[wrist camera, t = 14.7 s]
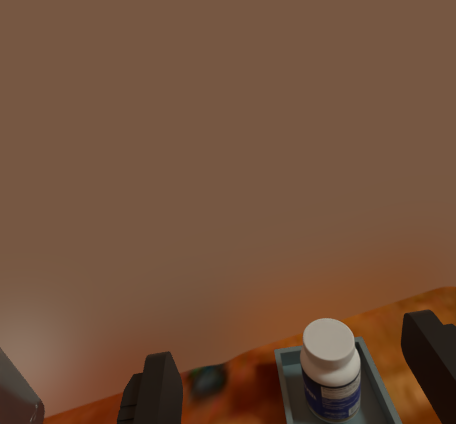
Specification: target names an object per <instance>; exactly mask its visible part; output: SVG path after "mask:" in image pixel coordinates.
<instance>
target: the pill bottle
mask: <svg viewBox="0 0 456 424" xmlns="http://www.w3.org/2000/svg"><path fill="white" fill-rule="evenodd" d="M300 362H301V369H302V376H303V384H304V391H305V398H306V402H307V404H308V406H309V408H310V410H311V411H312V412H313V413H314V414H315V415H316V416H317V417H318V418H320V419H321V420H323V421H326V422H328V423H333V424H340V423H345V422H347V421H349V420H351V419H352V418H353V417H354V416H355V415H356V414H357V412H358V410H359V407H360V400H361V387H360V369H361V368H360V367H361V364H360V357H359V354H358V351H357V349H356V348H355V341H354V336H353V334H352V332H351V330H350V329H349V328H348V327H347V326H346V325H345V324H343V323H342V322H340V321H337V320H334V319H327V318H326V319H325V318H324V319H318V320H315V321H313V322H312V323H310V324H309V325H308V326H307V327H306V329H305V331H304V333H303V346H302V349H301V352H300Z"/></svg>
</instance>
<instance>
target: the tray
mask: <svg viewBox="0 0 456 424" xmlns="http://www.w3.org/2000/svg"><path fill="white" fill-rule="evenodd" d="M354 341H355V348H356V349H357V351H358V354H359V357H360V364H361V367H360V368H361V369H360V387H361V400H360V407H359V410H358V412H357V414H356V415H355V416H354V417H353V418H352V419H351V420H349V421H347V422H345V423H340V424H402V422H401V420H400V418H399V415H398V413H397V411H396V409H395V407H394V405H393V403H392V400H391V398H390V396H389V394H388V392H387V390H386V388H385V385H384V383H383V381H382V379H381V377H380V375H379V373H378V370H377V368H376V366H375V364H374V362H373V360H372V357H371V355H370V353H369V351H368V349H367V347H366V345H365V342H364V340H363V338H362V337H356V338H354ZM301 349H302V346H296V347H289V348H283V349H276V350H274V351H275V357H276V363H277V368H278V374H279V380H280V385H281V391H282V397H283V403H284V408H285V414H286V420H287V424H333V423H328V422H326V421H323V420H321V419H320V418H318V417H317V416H316V415H315V414H314V413H313V412H312V411H311V410H310V408H309V406H308V404H307V402H306V398H305V391H304V384H303V376H302V369H301V362H300V352H301Z"/></svg>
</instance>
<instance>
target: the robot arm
mask: <svg viewBox="0 0 456 424" xmlns="http://www.w3.org/2000/svg"><path fill="white" fill-rule="evenodd" d="M401 348H402V352H403V355H404V358H405V360H406V362H407V364H408V366H409V367H410V369H411V371H412V373H413V374H414V376H415V378H416V379H417V381H418V383H419V385H420V386H421V388H422V390H423V392H424V393H425V395H426V397H427V398H428V400H429V402H430V404H431V405H432V407H433V409H434V410H435V412H436V414H437V416H438V417H439V419H440V421H441V423H442V424H456V326H455V325H453V324H447V325H443V324H442V323H441V322H440V320H439V319H438V318H437V316H436V315H435V314H434V313H433V312H432V311H431V310H423V311H417V312H410V313H405V314H404V318H403V327H402V337H401ZM182 401H183V387H182V380H181V377H180V374H179V372H178V370H177V367H176V365H175V362H174V360H173V357H172V355H171V353H170V352H169V351H168V352H162V353H156V354H150V355H148V356H147V357H146V360H145V365H144V370H143V373H138V374H134V375H133V376H132V378H131V379H130V381H129V383H128V384H127V386H126V388H125V389H124V392H123V397H122V401H121V405H120V410H119V414H118V418H117V424H181V414H182ZM44 412H45V410H44V405H43V403H42V401H41V399H40V398H39V397H38V396H37V394H36V393H35V392H34V391H33V389H32V388H31V387H30V386H29V384H28V383H27V381H26V380H25V379H24V377H23V376H22V375H21V373H20V372H19V371H18V370H17V368H16V367H15V366H14V365H13V363H12V362H11V361H10V359H9V358H8V357H7V356H6V354H5V353H4V352H3V351H2V349H1V348H0V424H42V422H43V419H44Z"/></svg>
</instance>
